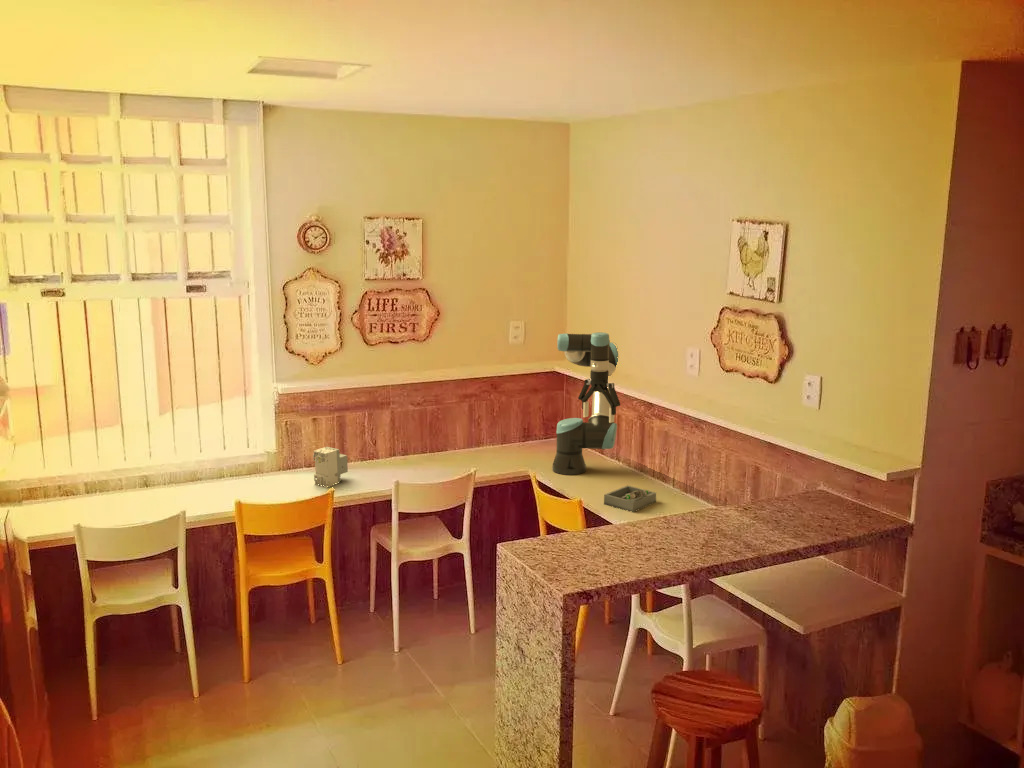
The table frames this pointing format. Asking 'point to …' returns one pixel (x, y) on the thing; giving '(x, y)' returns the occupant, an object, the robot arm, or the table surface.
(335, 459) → the circuit breaker
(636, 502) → the parts tray
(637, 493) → the mechanical component
